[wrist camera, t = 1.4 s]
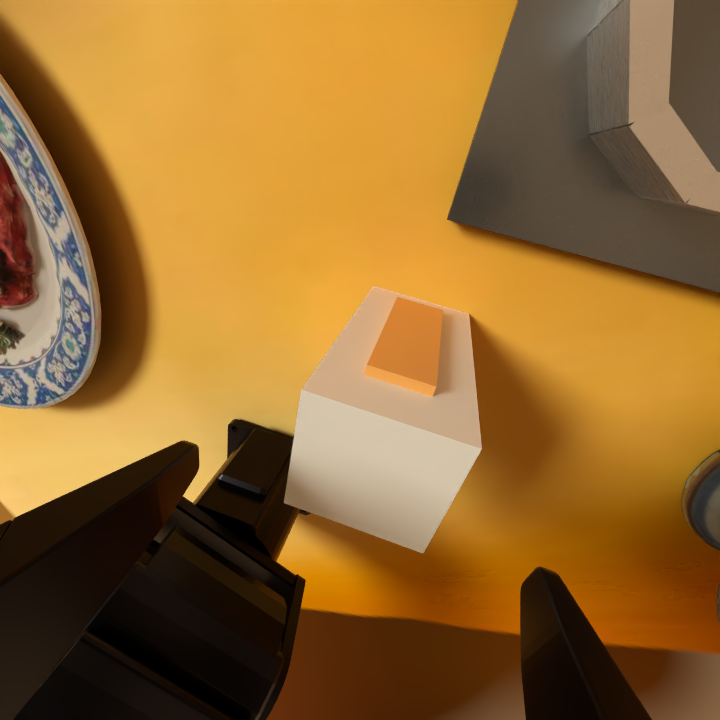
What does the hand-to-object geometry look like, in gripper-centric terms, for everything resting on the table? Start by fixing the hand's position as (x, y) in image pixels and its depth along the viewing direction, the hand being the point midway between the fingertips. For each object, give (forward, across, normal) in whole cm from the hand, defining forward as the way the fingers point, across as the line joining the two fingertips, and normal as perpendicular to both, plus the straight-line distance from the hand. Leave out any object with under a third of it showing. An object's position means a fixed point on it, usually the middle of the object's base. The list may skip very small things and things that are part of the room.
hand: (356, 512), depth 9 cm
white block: (+10, 0, 0) cm, 10 cm away
